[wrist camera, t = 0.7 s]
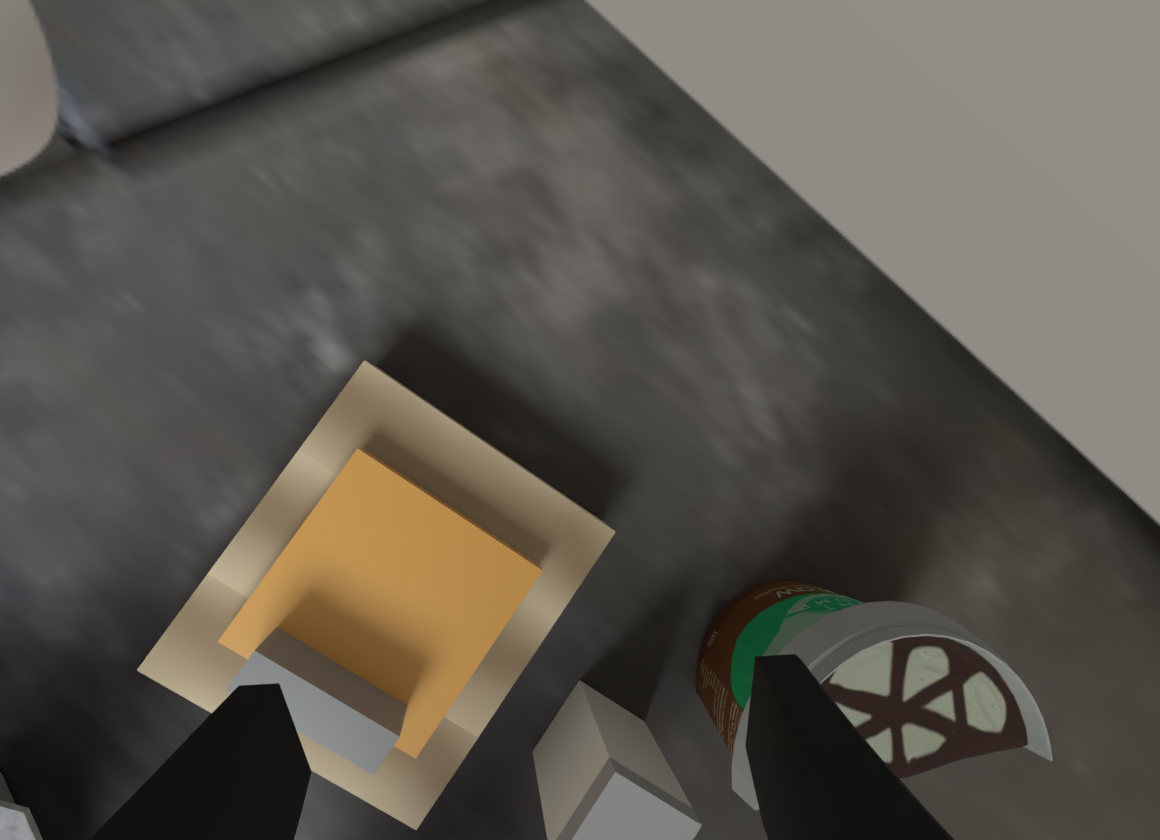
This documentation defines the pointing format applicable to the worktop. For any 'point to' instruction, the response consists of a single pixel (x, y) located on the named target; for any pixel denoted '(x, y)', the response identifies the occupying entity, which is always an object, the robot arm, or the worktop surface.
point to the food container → (869, 677)
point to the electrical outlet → (15, 818)
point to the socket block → (455, 476)
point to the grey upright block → (607, 776)
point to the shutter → (377, 613)
